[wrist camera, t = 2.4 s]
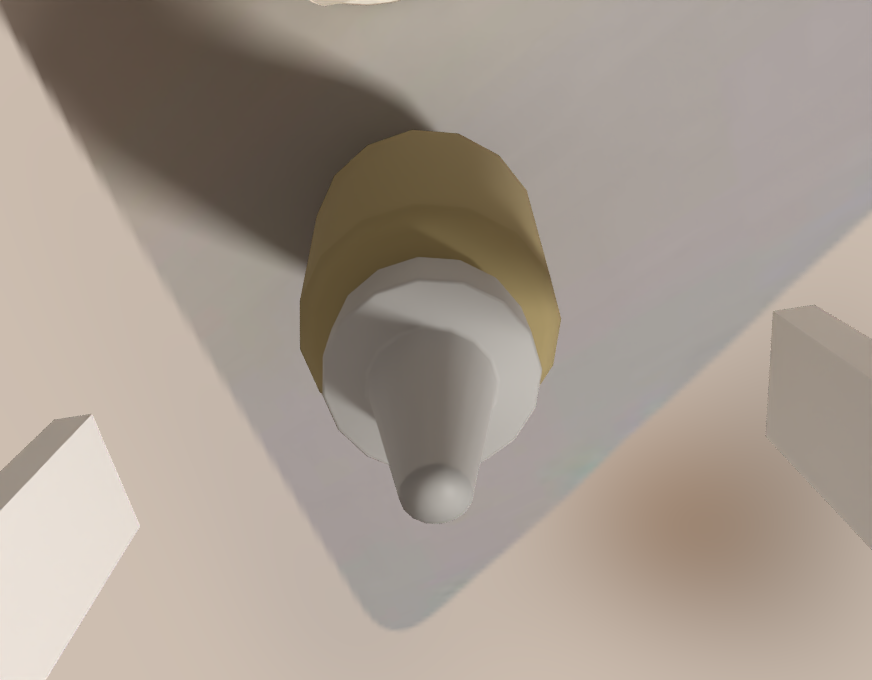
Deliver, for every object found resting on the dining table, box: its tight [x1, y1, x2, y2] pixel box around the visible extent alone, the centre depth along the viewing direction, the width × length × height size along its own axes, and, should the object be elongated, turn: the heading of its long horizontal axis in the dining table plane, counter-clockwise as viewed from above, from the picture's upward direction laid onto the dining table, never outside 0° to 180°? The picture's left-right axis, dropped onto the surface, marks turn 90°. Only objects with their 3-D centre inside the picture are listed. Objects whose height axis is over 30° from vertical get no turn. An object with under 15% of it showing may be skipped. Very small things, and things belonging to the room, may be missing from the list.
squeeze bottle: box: [300, 130, 561, 524], centre depth 18 cm, size 8×8×18 cm
